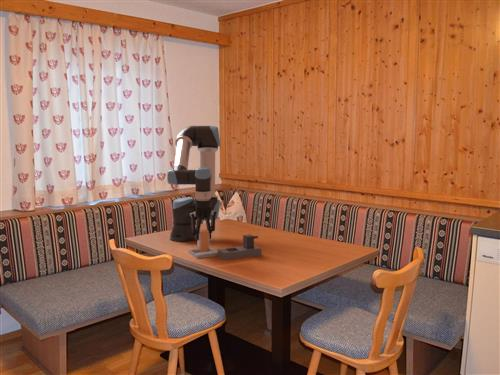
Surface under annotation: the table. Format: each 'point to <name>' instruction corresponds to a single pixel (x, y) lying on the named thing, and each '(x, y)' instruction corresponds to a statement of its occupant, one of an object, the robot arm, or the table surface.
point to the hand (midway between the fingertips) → (203, 245)
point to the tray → (203, 253)
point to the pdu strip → (241, 249)
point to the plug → (204, 240)
